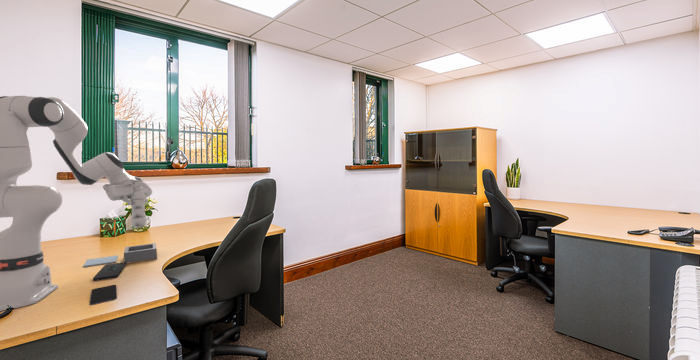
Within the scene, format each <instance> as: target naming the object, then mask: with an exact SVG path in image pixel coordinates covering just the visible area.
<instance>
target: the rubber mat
mask: <svg viewBox="0 0 700 360" xmlns="http://www.w3.org/2000/svg"><path fill="white" fill-rule="evenodd" d="M118 258H119V255H111V256H103V257H96V258H89V259H86V261H85V262H84V264H83V265H82V268H89V267H94V266H100V265H101V266H102V265H106V264H113V263H117V260H118Z"/></svg>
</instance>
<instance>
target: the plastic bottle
mask: <svg viewBox="0 0 700 360" xmlns="http://www.w3.org/2000/svg"><path fill="white" fill-rule="evenodd" d="M141 190H142V186H135V187H133V193H132V194H131V195H130V199H129V200H132V201H133V202H134V203H133V205H130V207H131V208H130V209H131V218H130V225H131V226H132V228H142V227H145V226H146V225H147V223H148V220H147V217H146V212H145V207H146V203H145V195H144V193H143V192H142V191H141Z"/></svg>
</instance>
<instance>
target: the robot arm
mask: <svg viewBox="0 0 700 360" xmlns="http://www.w3.org/2000/svg"><path fill="white" fill-rule="evenodd" d="M41 127H42V128H43V127H44V128H45V127H46V128H47V127H48V128H49V130H50V131H52V133H53V134H54V139H53V140H52V143H53V147H55V149H56V151H57V152H58V154H59V155H60V157H61V159H62V160H63V161H64V162H65V164H66V165H67V167H68V168H69V170H70V171H71V173H72V175H73V177H74V178H75V180H76V181H77V182H78V183H80V184H81V185H85V186H93V185H94V184H95V183H97V182H99V181H100V180H102V179H103V178H105V179H106V180H108V182H109V183H106V184H104V185H102V186H103V187H102V189H103V190H104V191H105V194H106V196H107V197H108V199H109V200H110V201H113V202H114V201H122V202H124V203H126V204H127V205H128V206H131V205H133V203H134V202H133V201H132V200H130V195H131V194H132V193H133V187H135V186H142V190H141V191H142V192H143V193H144V195H145V204H147V203H148V202H149V200H148V199H147V198H149V197H151V195H152V193H153V190H152V188H151V187H150V185H148V184H147V183H146V182H145V181H144V179H143V178H142V177H138V176H133V175H130V174H129V172H126V169H125V168H124V163H123V162H122V161H121V159H120V158H119V156H117V155H116V154H115V153H113V152H108V151H105V152H103V153H101V154H98V155H96V156H94V157H93V158H91V159H89V160H87V161H85V162H83V163H80V162H79V161H78V159H77V158H76V156H75V154H74V151H75V149H76V148H77V147H78V145H80V144H81V143H82V142H83V141H84V140H85V138H86V136H87V135H88V130H89V129H88V125H87V123H86V122H85V121H84V119H83V117H81V116H80V115H79V113H77V112H76V110H75V109H73V108H72V107H71V106H70V105H69V104H67V103H66V102H65V101H63V100H62V99H60V98H58V97H53V96H50V97H46V96H45V97H43V96H37V97H36V96H30V95H29V96H27V95H11V96H7V95H3V96H0V218H12V223H11V225H10V226H9V227H7V228H6V229H3V230H2V231H0V312H3V311H7V310H6V309H7V308H8V306H7V305H9V307H10V306H11V307H13V308H14V309H17V308H22V307H25V306H29V305H34V304H36V303H39V302H40V301H41V300H43V299H44V298H45V297H47V296H48V295H49V294H51V293H52V292H54V291H56V290H57V289H58V288H59V286H58V284H54V283H53V281H52V273H51V269H50V268H51V267H50V266H49V265H47V264H45V263H44V257H45V256H44V251H42V244H41V243H42V241H41V240H42V239H41V238H42V237H41V236H42V235H41V234H42V231H43V230H42V229H43V227H44V224H46V223H45V222H46V221H47V220H48V218H49V217H50V216H52V214H54V213H56V212H57V211H58V210H59V209H60V208H61V206H62V203H63V196H62V193H61V192H60V191H59V190H58V189H57V188H55V187H53V186H46V185H38V184H37V185H36V184H35V185H17V181H18V178H19V177H20V176H22V175H24V174H26V173H28V172H29V171H30V170H31V169H32V167H33V162H32V155H31V154H32V153H31V149H30V142H29V139H28V135H27V132H28V129H29V128H41ZM52 283H53V284H52Z"/></svg>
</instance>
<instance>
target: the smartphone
mask: <svg viewBox="0 0 700 360" xmlns="http://www.w3.org/2000/svg"><path fill="white" fill-rule="evenodd" d="M117 288H118V287H117V284H111V285H106V286H102V287H96V288H93V289H91V292H90V298H89V305H90V306H94V305H99V304H102V303H107V302H112V301H115V300H117V299H118V293H117V291H118V289H117Z"/></svg>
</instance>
